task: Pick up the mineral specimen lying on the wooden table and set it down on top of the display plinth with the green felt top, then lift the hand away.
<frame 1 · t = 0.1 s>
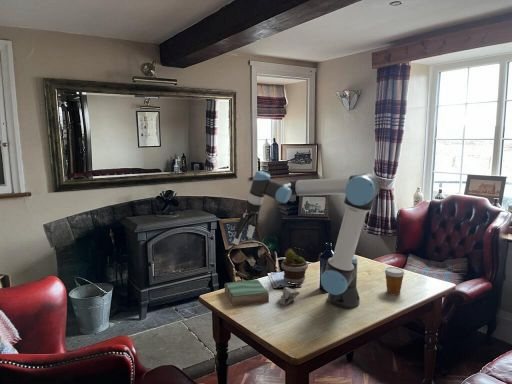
hand: (242, 240, 191), 28 cm above the table, tool tilted 20°, fingers open, 13 cm apart
flowerpot: (294, 281, 210), on the table
mineral specimen: (289, 301, 185), on the table
disposable coffee cup: (393, 292, 195), on the table
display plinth: (246, 296, 190), on the table
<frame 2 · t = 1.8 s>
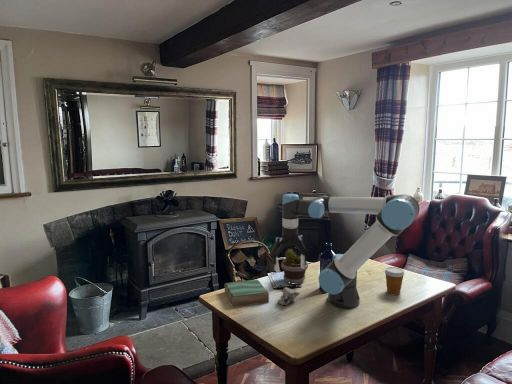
hand: (289, 269, 182), 16 cm above the table, tool pointing down, fingers open, 13 cm apart
nothing on the table moved.
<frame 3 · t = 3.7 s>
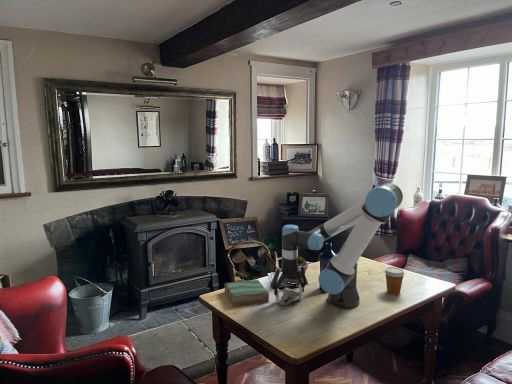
hand: (289, 300, 185), 1 cm above the table, tool pointing down, fingers open, 11 cm apart
mineral specimen: (289, 302, 184), on the table, touching gripper
everything else where it was.
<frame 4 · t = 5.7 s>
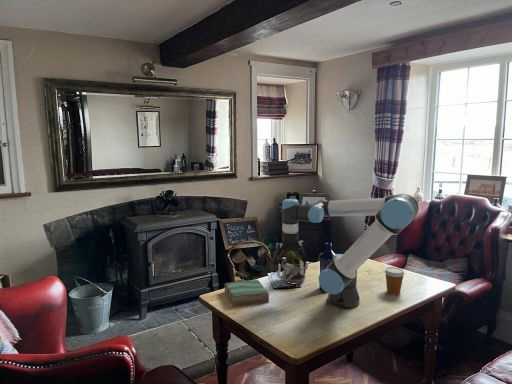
hand: (290, 275, 183), 13 cm above the table, tool pointing down, fingers closed on mineral specimen, 11 cm apart
mineral specimen: (290, 278, 182), point 12 cm above the table, touching gripper
everything else where it was.
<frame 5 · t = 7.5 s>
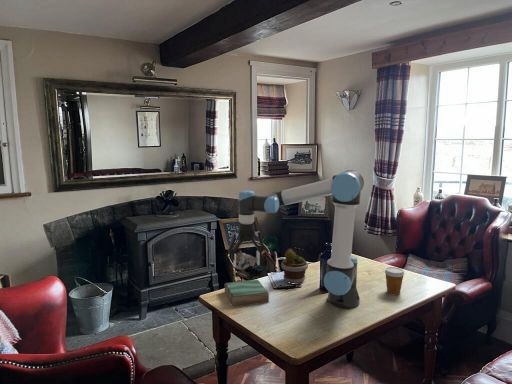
hand: (246, 265, 187), 16 cm above the table, tool pointing down, fingers closed on mineral specimen, 11 cm apart
mineral specimen: (246, 267, 187), point 16 cm above the table, touching gripper
everything else where it was.
when the fingers open (8 cm above the table, at t = 10.2 s): mineral specimen drops 2 cm, resting on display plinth.
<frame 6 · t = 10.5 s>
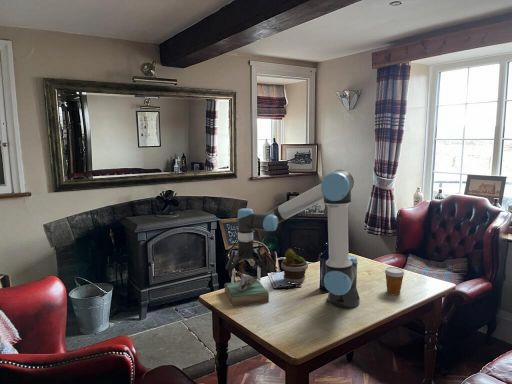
hand: (245, 281, 188), 8 cm above the table, tool pointing down, fingers open, 13 cm apart
mineral specimen: (246, 288, 188), point 5 cm above the table, touching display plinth
everything else where it was.
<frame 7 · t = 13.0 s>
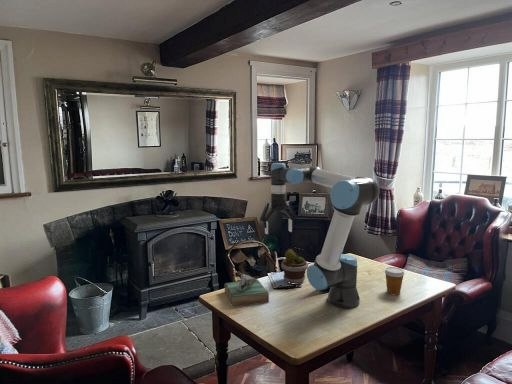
hand: (278, 232, 200), 29 cm above the table, tool pointing down, fingers open, 13 cm apart
nothing on the table moved.
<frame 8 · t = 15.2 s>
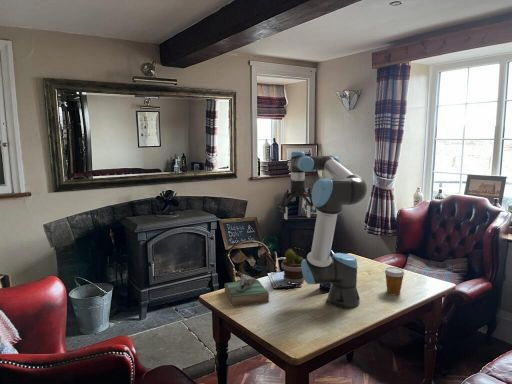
hand: (297, 218, 209), 35 cm above the table, tool pointing down, fingers open, 13 cm apart
nothing on the table moved.
at the end: mineral specimen inside the target area on the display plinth (1.0 cm from its centre), point 4.8 cm above the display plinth's base; the gripper is holding nothing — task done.
